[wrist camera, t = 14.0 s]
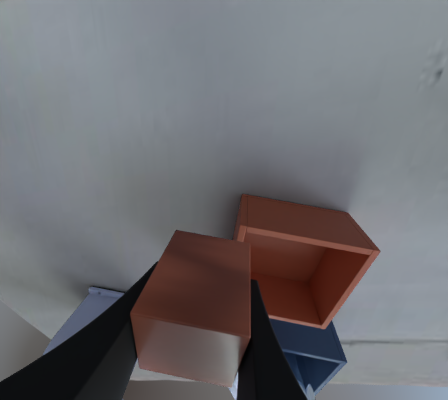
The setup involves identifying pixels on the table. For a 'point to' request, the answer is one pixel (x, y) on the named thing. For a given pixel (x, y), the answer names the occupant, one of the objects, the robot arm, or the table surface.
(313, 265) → the terracotta bin
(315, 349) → the slate bin
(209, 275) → the block
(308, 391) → the milkshake
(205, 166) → the table surface
